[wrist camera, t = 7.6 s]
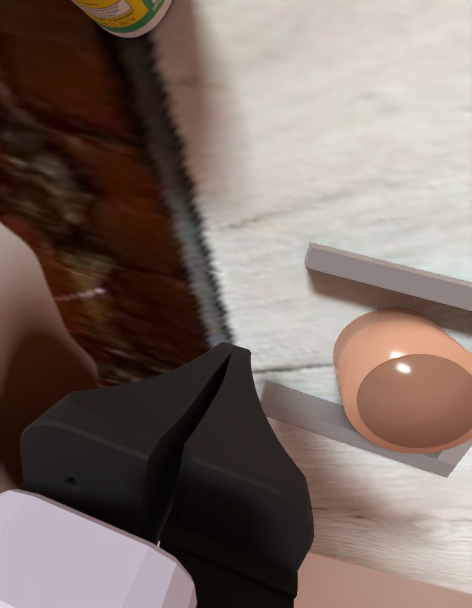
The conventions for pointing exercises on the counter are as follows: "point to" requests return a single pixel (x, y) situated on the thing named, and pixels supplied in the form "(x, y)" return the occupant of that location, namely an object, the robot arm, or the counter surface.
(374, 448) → the holder
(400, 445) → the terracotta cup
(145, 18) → the supplement bottle
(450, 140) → the counter surface
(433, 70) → the counter surface
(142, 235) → the counter surface
